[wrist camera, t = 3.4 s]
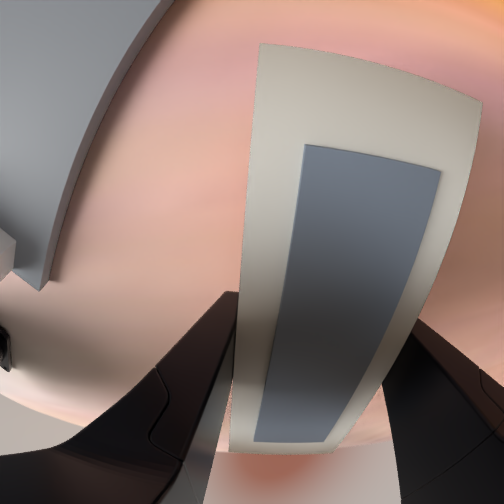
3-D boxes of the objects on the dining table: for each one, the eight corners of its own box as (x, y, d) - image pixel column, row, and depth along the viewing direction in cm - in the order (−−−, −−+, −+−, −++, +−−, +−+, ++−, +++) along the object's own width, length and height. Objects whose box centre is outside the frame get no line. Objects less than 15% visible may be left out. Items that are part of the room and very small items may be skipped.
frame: (324, 394, 12) (332, 456, 9) (234, 391, 12) (228, 455, 9) (412, 93, 6) (487, 103, 4) (260, 64, 6) (259, 41, 3)
